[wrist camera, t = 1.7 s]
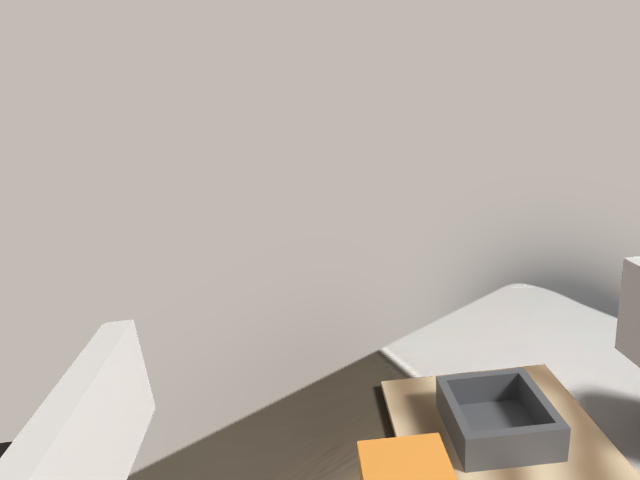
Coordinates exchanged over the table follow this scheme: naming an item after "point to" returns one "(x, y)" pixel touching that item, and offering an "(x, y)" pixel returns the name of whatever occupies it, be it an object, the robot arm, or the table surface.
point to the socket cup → (501, 420)
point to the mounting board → (573, 476)
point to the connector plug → (405, 458)
